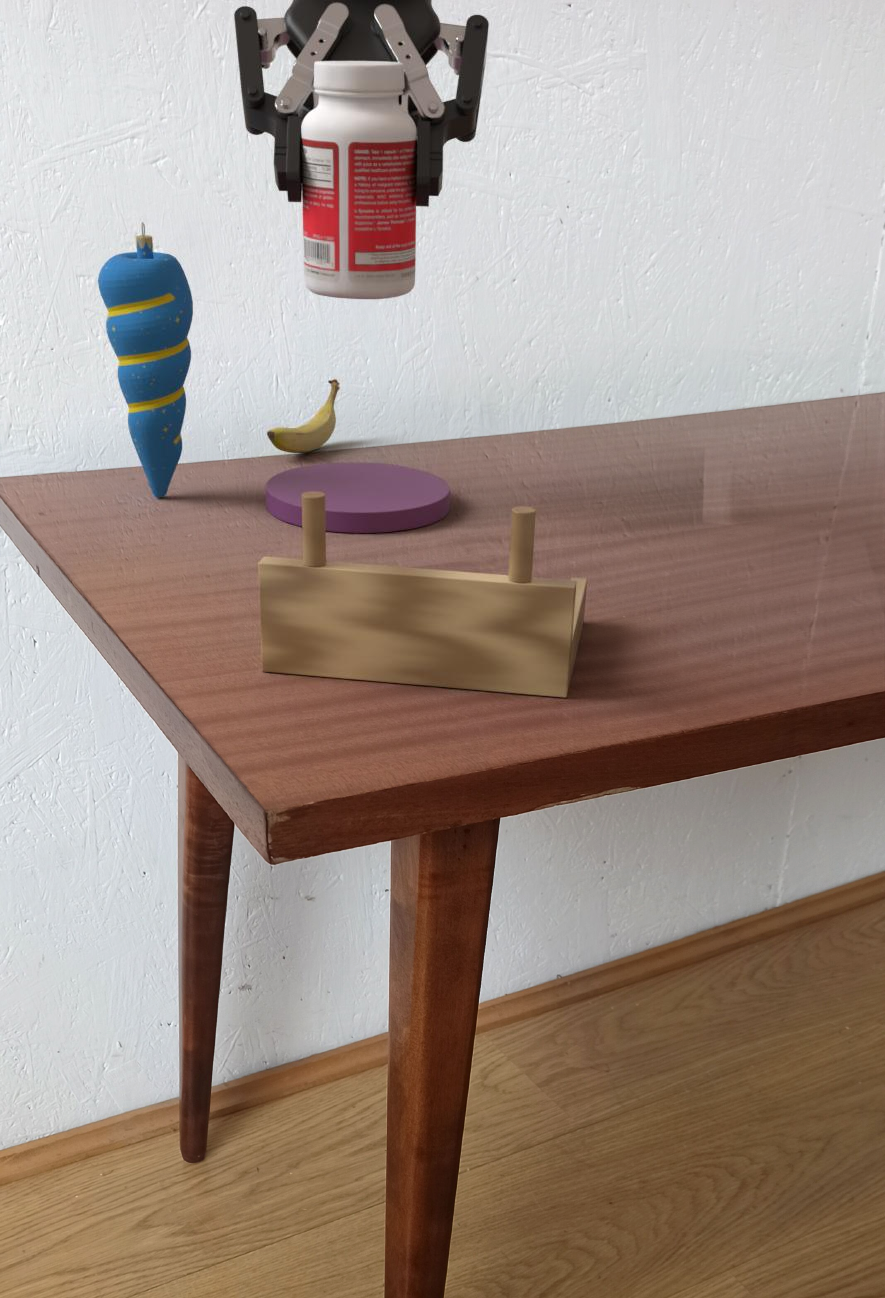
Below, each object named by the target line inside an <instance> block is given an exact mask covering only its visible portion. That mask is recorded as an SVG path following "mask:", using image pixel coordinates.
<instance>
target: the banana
mask: <svg viewBox="0 0 885 1298" xmlns="http://www.w3.org/2000/svg"><path fill="white" fill-rule="evenodd" d="M327 382H328V384H330V392H329V395H328V398H327V400H326V402H325V403H324V404H323V405H322V406H321V407H320V408H319V410H318V411H317V412H316V413H315V414H314V416H313V417H312V419H310V421H308V422H307V423H305V424H303V425H300V426H299V427H283V426H282V427H281V426H280V427H274V428H271V429H269V430H267V431H266V436H267V437H268V439H269V441H270V442H271V443H272V445H273V446H274V448H276V449H277V450H279V451H282V452H285V453H290V454H291V453H292V454H301V453H302V454H304V453H308V452H311V451H314V450H316V449H319V448H321V447H322V446H323V445H325V444H326V443H327V442H328V440H329V439H330V438H331V437H332V435H333V434H334V431H335V428H336V423H337V417H336V411H335V402H336V397H337V395H338V391H339V390H340V389H341V387H340V385H341V384H340V382H339V381H338V379H336V378H334V379H331V380H328V381H327Z"/></svg>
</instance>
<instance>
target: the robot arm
mask: <svg viewBox="0 0 885 1298" xmlns="http://www.w3.org/2000/svg"><path fill="white" fill-rule="evenodd" d="M432 1H433V0H292V2H291V4H290V6H289V7H288V9H287V10H286V12H285V14H284V16H283V17H272V18H271V17H270V18H258V14H257V12H256V10H255V8H253V7H251V6H248V5H243V6H240V7H238V8H237V9H235V11H234V14H233V17H234V18H233V19H234V28H235V41H236V51H237V60H238V71H239V82H240V92H241V100H242V108H243V118H244V124H245V129H246V131H247V132H248V133H249V134H251V135H253V136H260V135H263V134H264V133H267V134H269V135H271V136H272V137H273V138H274V140H273V141H274V145H273V146H274V147H273V171H274V180H275V185H276V188H277V190H278V192H287V202H288V203H302V163H301V162H302V160H301V125H302V122H303V120H304V118H305V116H306V115H307V114H308V113H309V112H310V111H312V110H313V109H315V108H316V107H317V106H318V102H319V94H317V93H315V91H314V90H315V88H314V63H315V62H316V61H385V62H400V63H403V64H404V84H405V87H404V89H403V90H402V91H403V94H402V95H399V99H398V101H399V107H400V108H401V110H403V111H404V112H406V113H407V114H408V115H409V116H410V117H411V118H412V119H413V121H414V123H415V126H416V130H417V171H416V207H423V208H424V207H426V208H428V207H429V206H430V197H439V195H440V194H441V191H442V190H443V177H444V146H445V144H447V142H449V141H451V140H455V139H456V140H458V141H459V142H462V143H469V142H472V140H474V139H475V137H476V135H477V129H478V127H477V126H478V120H479V114H480V107H481V99H482V92H483V85H484V77H485V69H486V63H487V52H488V40H489V26H490V24H489V20H488V19H487V17H485V16H484V15H481V14H472V15H471V16H469V17H468V18H467V20H466V22H465V23H466V24H465V25H459V24H452V23H444V22H441V21H440V18H439V16H438V14H437V13H436V11H435V9H434V7H433V5H432V4H433V3H432ZM283 46H286V48H287V49H288V51H289V53H291V54H292V56H293V57H294V58H295V61H294V62H293V66H292V70H291V74H290V76H289V78H288V80H287V81H286V83H285V84H284V86H283V87H282V89H281V90H280V91H279V93H278V95H274V94H271V93H268V92H265V84H264V82H265V81H264V73H263V70H267V69H269V68H270V67H271V63H273V62H274V60H275V59H276V53H277V51H278V50H279V48H281V47H283ZM438 51H440V52H443V53H444V54H445V55H446V56H447V62H448V65H449V67H450V68H451V69H452V70H453V73H454V74H455V75H457V76H458V80H457V86H456V94H455V98H452V99H449V100H445V101H443V100H442V99H441V97H440V95H439V94H438V91H437V90H436V89H435V87H434V85H433V83H432V82H431V79H430V76H429V71H428V67H427V65H428V64H429V63H430V62H431V61H432V60H433V58H434V57H435V56H436V55H437V54H438Z"/></svg>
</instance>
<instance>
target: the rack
mask: <svg viewBox="0 0 885 1298" xmlns="http://www.w3.org/2000/svg"><path fill="white" fill-rule="evenodd" d="M536 514H537V510H536V509H535V508H534V507H531V506H524V505H523V506H520V505H519V506H515V507H512V509H511V519H510V520H511V521H510V522H511V523H510V537H509V538H510V539H509V555H508V557H509V558H508V575H507V574H496V573H495V574H494V573H484V572H483V573H482V572H469V571H457V570H446V569H445V570H443V569H430V568H420V567H418V568H417V567H405V566H394V565H393V566H391V565H380V564H379V565H378V564H369V563H368V564H367V563H366V564H365V563H354V562H343V561H329V560H327V539H326V538H327V536H326V535H327V534H326V532H327V531H326V521H325V494H324V493H322V492H317V491H309V492H304V493H302V527H301V528H302V529H301V531H302V532H301V533H302V535H301V536H302V537H301V539H302V559H301V558H288V557H278V556H277V557H275V556H263V557H262V558H261V559H260V561H259V562H258V563H257V568H258V569H257V570H258V592H259V593H258V594H259V596H258V597H259V598H258V599H259V620H260V621H259V623H260V625H259V626H260V647H261V648H260V651H261V652H260V653H261V671H262V672H264V673H276V674H289V675H299V676H310V677H311V676H312V677H321V678H322V677H324V678H334V679H346V680H355V681H356V680H358V681H369V682H379V683H389V684H390V683H393V684H402V685H403V684H404V685H412V686H413V685H414V686H426V687H438V688H449V689H459V690H473V691H482V692H483V691H484V692H485V691H486V692H495V693H505V694H506V693H508V694H518V695H529V696H541V697H553V698H564V699H565V698H567V697H568V692H569V688H570V683H571V679H572V674H573V672H574V667H575V666H574V665H575V661H576V658H577V653H578V648H579V644H580V641H581V635H582V631H583V626H584V621H585V614H586V613H585V611H586V600H587V589H588V588H587V586H588V579H587V578H585V577H584V578H583V577H571V578H570V579H558V578H548V577H546V578H545V577H534V576H533V567H534V566H533V564H534V550H535V549H534V547H535V530H536Z"/></svg>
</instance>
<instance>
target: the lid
mask: <svg viewBox="0 0 885 1298" xmlns="http://www.w3.org/2000/svg"><path fill="white" fill-rule="evenodd" d="M309 491H317V492H322V493H324V494H325V521H326V532H331V533H332V532H334V533H346V534H379V533H391V532H401V531H409V530H413V529H418V528H422V527H426V526H429V525H431V524H434V523H436V522H438V521H440V520H442V519H444V518H446V516H447V515H448V514H449V512H450V509H451V487H450V485H449V483H448V482H447V481H446V480H445V479H444V478H442V477H440V476H438V475H436V474H434V473H431V472H428V471H425V470H421V469H417V468H413V467H409V466H403V465H397V464H389V463H381V462H380V463H378V462H364V461H363V462H359V461H356V462H354V461H352V462H351V461H349V462H348V461H347V462H327V463H326V462H325V463H316V464H310V465H304V466H299V467H298V466H297V467H294V468H290V469H287V470H284V471H281V472H279V473H277V474H275V475H273V476H272V477H270V478H269V479H268V480H267V481H266V483H265V506H266V510H267V511H268V512H269V514H271V516H273V517H275V518H277V519H278V520H280V521H282V522H285V523H288V524H291V525H293V526H298V527H301V528H302V493H304V492H309Z"/></svg>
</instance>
